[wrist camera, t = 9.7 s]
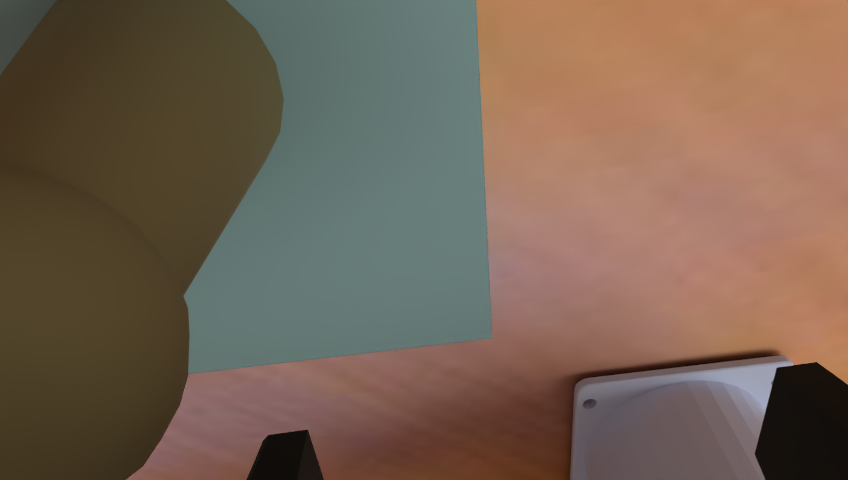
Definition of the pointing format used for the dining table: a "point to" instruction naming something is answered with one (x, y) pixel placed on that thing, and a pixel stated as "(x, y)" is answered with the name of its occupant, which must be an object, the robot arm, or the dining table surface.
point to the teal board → (348, 188)
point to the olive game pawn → (116, 218)
